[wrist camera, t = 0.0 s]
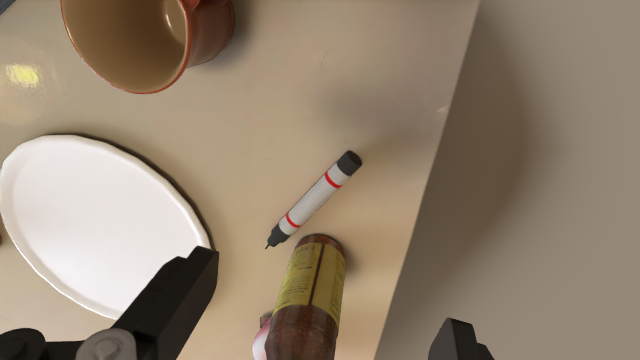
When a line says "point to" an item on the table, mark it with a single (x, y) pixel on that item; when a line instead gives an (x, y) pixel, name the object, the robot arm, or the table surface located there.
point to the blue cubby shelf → (5, 4)
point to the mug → (147, 38)
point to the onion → (261, 339)
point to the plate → (94, 219)
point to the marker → (315, 197)
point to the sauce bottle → (308, 303)
